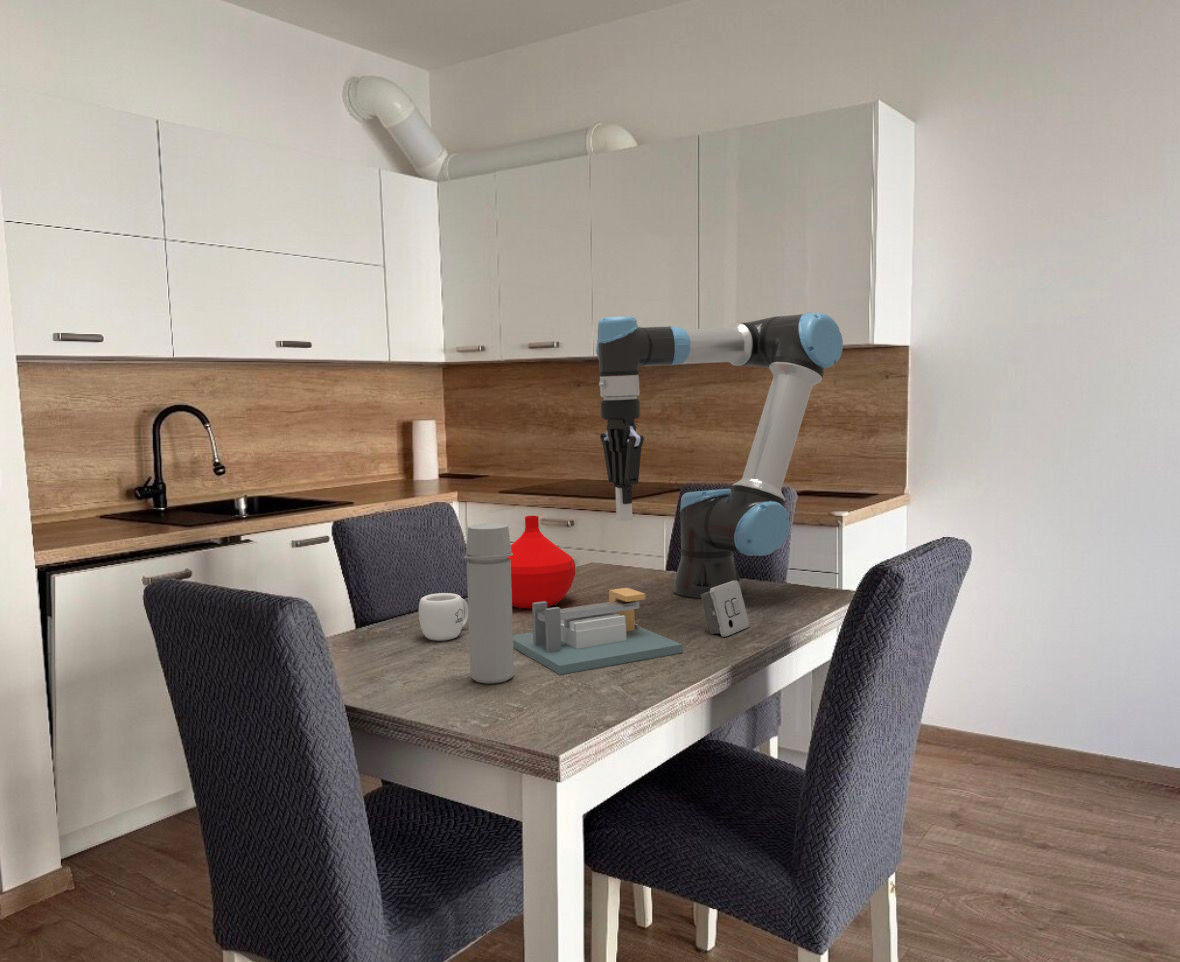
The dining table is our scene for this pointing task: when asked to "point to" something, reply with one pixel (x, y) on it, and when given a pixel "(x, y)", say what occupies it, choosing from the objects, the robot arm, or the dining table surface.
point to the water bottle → (490, 603)
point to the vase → (538, 568)
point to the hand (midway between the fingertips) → (624, 520)
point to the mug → (442, 615)
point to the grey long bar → (593, 609)
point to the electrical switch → (725, 609)
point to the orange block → (626, 596)
